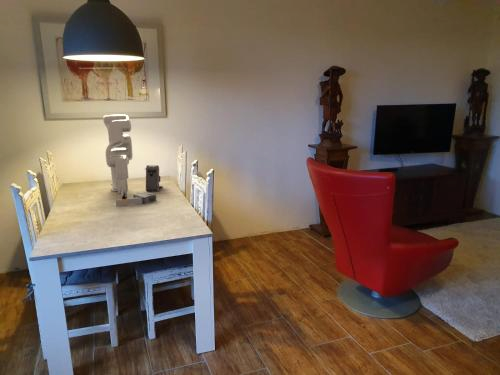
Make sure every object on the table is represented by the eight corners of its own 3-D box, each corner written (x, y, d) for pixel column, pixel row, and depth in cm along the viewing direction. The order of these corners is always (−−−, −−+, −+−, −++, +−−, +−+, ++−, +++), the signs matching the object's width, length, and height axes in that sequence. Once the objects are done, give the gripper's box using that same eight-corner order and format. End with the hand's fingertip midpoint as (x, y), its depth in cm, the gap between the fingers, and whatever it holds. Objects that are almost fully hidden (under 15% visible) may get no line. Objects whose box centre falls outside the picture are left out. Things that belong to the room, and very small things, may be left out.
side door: (116, 206, 247) (115, 199, 246) (116, 206, 248) (115, 199, 247) (143, 203, 252) (143, 197, 251) (143, 203, 253) (143, 196, 252)
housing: (133, 201, 260) (133, 193, 258) (145, 197, 268) (144, 190, 266) (145, 204, 252) (145, 196, 251) (157, 200, 260) (156, 193, 259)
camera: (164, 191, 298) (164, 166, 298) (157, 191, 281) (157, 165, 281) (151, 191, 299) (151, 166, 299) (143, 191, 282) (143, 165, 282)
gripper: (118, 173, 254) (121, 199, 258) (114, 178, 239) (116, 206, 244) (130, 173, 255) (132, 199, 259) (126, 178, 240) (128, 205, 245)
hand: (124, 202), depth 252 cm, fingers closed
